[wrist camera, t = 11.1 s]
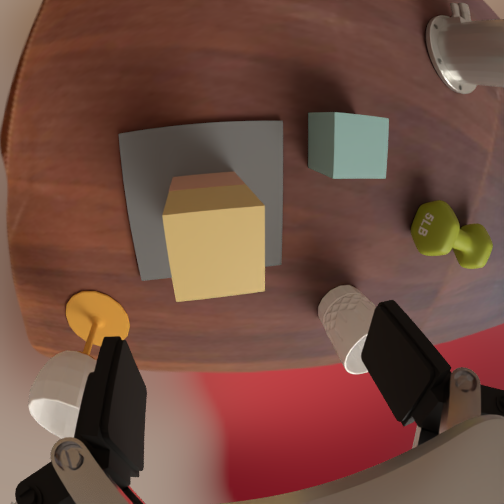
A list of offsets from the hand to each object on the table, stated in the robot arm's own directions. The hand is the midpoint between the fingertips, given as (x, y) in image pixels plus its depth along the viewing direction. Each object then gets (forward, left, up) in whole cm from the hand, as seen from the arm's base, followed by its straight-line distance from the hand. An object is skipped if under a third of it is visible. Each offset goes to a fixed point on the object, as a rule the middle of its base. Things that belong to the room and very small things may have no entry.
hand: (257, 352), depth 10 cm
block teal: (-6, +13, -22) cm, 26 cm away
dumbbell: (+6, +34, -22) cm, 41 cm away
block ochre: (0, -1, -15) cm, 15 cm away
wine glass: (+14, -16, -22) cm, 30 cm away
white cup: (+16, +16, -22) cm, 32 cm away
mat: (0, -1, -21) cm, 21 cm away
